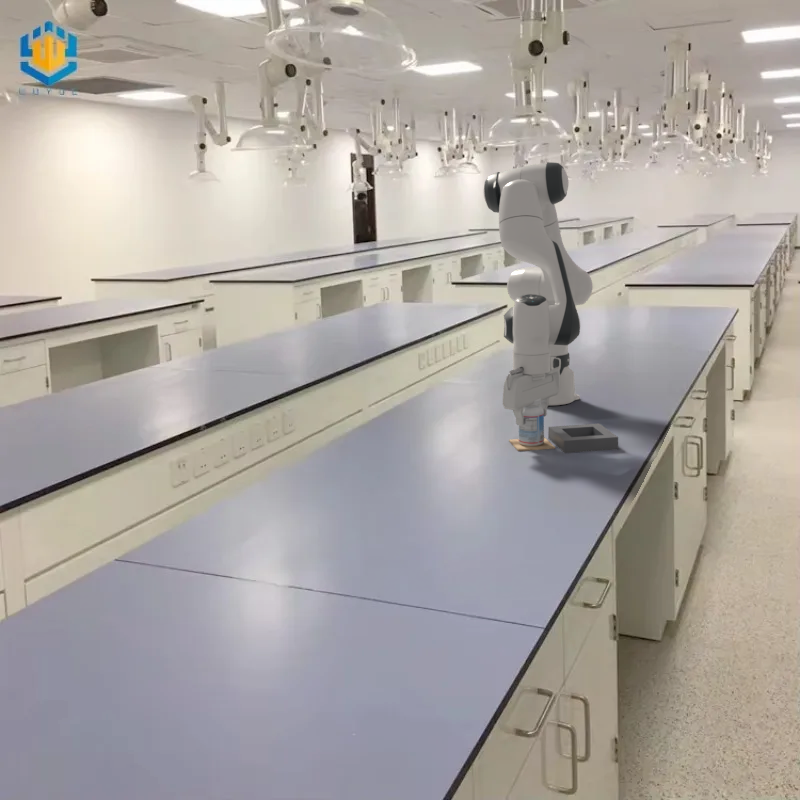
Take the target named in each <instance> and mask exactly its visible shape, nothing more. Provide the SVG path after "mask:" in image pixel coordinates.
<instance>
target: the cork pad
mask: <svg viewBox="0 0 800 800" xmlns="http://www.w3.org/2000/svg"><path fill="white" fill-rule="evenodd" d="M508 442H509V443H510V444H511V445H512V447H514V448H515V450H516V451H517V452H526V451H529V452H530V451H539V450H541V451H542V450H555V449H556V447H555V446H554V445H553V443H552V442H550V440H549V439H547V438H546V437H545V436H544V443H543V444H541V445H538V446H525V445H521V444H520V443H519V438H513V439H511V438H510V439H508Z"/></svg>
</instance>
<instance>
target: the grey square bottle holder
mask: <svg viewBox="0 0 800 800" xmlns="http://www.w3.org/2000/svg"><path fill="white" fill-rule="evenodd" d="M547 433H548V439H547V440H549V441H551V443H552V444H554V445H555V446H556V447H557V448H558V449H559V450H560V451H561V452H563V454H571V453H584V452H585V453H586V452H599V451H613V450H615V451H616V450H618V449H619V437H618V436H617V435H616V434H615V433H613V432H612V431H610V430H609V429H607V428H606V427H605V426H603V425H602V424H601V423H589V424H587V423H586V424H585V423H583V424H574V425H573V424H572V425H555V426H548V432H547Z"/></svg>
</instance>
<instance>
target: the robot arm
mask: <svg viewBox="0 0 800 800" xmlns="http://www.w3.org/2000/svg"><path fill="white" fill-rule="evenodd" d="M568 189H569V176H568V174H567V172H566V170H565V168H564V166H563V165H562V164H561V163H559V162H546V163H539V164H536V163H535V164H528V165H522V166H520V167H516V168H515V167H514V168H512V169H508V170H505V171H501V172H499V171H497V172H495V173H492V174H490V175H488V177H486V179H485V180H484V187H483V198H484V201H485V204H486V206H487V207H488V209H489V210H490V211H492V212H493V213H498V232H499V239H500V244H501V247H502V248H503V249H504V251H505V252H506V253H507V254H508V255H510V256H511V257H512V258H515V259H516V260H519V261H522V262H524V263H528V264H531V265H534V266H526V267H523V268H522V267H521V268H518V269H515V270H513V271H512V272H511V273H510V275H509V276H508V280H507V283H506V289H507V293H508V295H509V298H510V299H511V300H512V301H513V302H514V306H512V307H510V308H509V309H508V310H507V311H506V313H504V315H503V318H504V319H503V320H504V322H503V323H504V329H503V330H504V331H503V338H505V339H506V340H507V341H508V342H509V343H510V344H514V346H513V348H512V369H511V370H509V372H508V374H507V376H506V377H505V379H504V383H503V390H502V406H503V408H504V409H505V410H510V411H512V413H513V415H514V417H515V424H516V425H517V426H519V425H520V426H522V425H524V424H525V423H526V417H524V416H523V413H522V412H523V411H524V407H526V406H529V405H531V404H533V403H534V401H535V400H537V399H540V398H541V404H540V407H541V408H543V410H544V417H546V416H547V414H548V413H547V410H548V407H549V406H560V405H563V406H564V405H566V404H570V403H573V402H574V401H578V400H580V399H581V396H580V394H577V393H576V385H575V384H576V383H575V371H573V370H572V369H571V368H570V367H569V366H570V361H571V357H570V353H569V345H570V344H571V343H573V342H574V341H576V340H577V338H578V337H579V336H580V332H581V331H580V330H581V321H580V320H581V318H580V316H579V313H578V310H577V308H576V307H577V306H581V305H584V304H585V303H587V302H588V300H589V299H590V297H591V295H592V291H593V281H592V278H591V276H590V274H589V273H588V272H587V271H586V270H585V269H583V268H581V267H580V266H579V265H578V264H577V263H576V262H575V261H574V260H573V259H572V258H571V256H570V255H569V253H568V251H567V250H566V248H565V246H564V243H563V239H562V235H561V231H560V230H561V229H560V225H559V219H558V214H557V210H556V204H558V203H560V202H562V201H563V200H564V199H565V198H566V196H567V193H568Z"/></svg>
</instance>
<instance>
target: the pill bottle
mask: <svg viewBox="0 0 800 800" xmlns="http://www.w3.org/2000/svg"><path fill="white" fill-rule="evenodd" d="M540 404H541V398H540V399H537V400H535V401H534V403H533V404H531V405H529V406H526V407H524V411H523V412H522V413H523V416H524V417H526V423H525V424H524V425H522V426H520V425H518V439H519V443H520V444H521V445H525V446H538V445H541V444H543V443H544V437H545V416H544V410H543V408H541V407H540Z"/></svg>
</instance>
